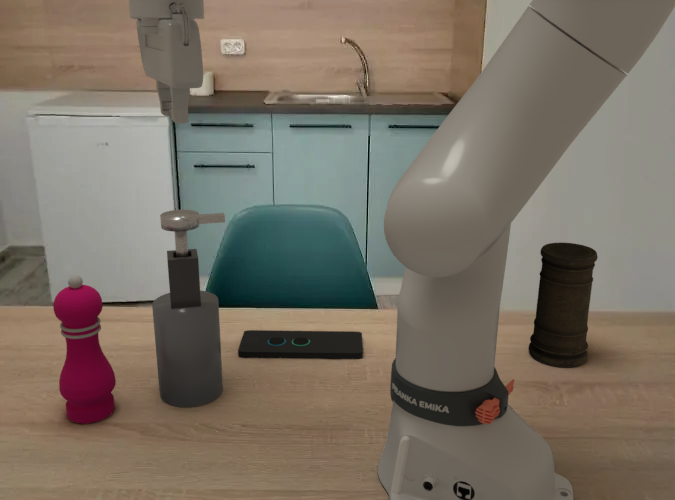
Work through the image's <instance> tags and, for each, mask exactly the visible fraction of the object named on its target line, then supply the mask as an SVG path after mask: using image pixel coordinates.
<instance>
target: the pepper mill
mask: <svg viewBox="0 0 675 500" xmlns="http://www.w3.org/2000/svg"><path fill="white" fill-rule="evenodd" d="M83 282H84V281H83V278H82V277H81V275H78V274H73V275H70V277H69V278H68V281H67V283H68V286H67V287H64V288H62V289H61V290H60V291H58V293H57V294H56V296H55V297H54V300H53V313H54V315H55V317H56V318H57V319H58V320H59V321H60V324H59V327H60V334H61V336H62V337H64V338H65V342H66V344H65V345H66V356H65V361H64V364H63V365H62V369H61V372H60V376H59V382H58V384H59V385H58V387H59V388H58V390H59V394H60V395H61V396H62V398H63V399H64V400H65V401H66V402H65V411H66V417H67V418H68V419H69V421H71V422H73V423H76V424H92V423H97V422H99V421H103V420H105V419H106V418H108V417H109V416H111V415H112V414H113V413H114V411H115V408H116V403H115V398H114V397H115V396H114V395H113V391H114V389H115V387H116V385H117V380H116V375H115V371H114V369H113V367H112V365H111V363H110V361H109V359H107V357H106V356H105V354H104V352H103V349H102V348H101V344H100V339H99V332H100V331H101V330H102V326H101V319H100V317H99V315H100V314H101V313H102V310H103V306H104V305H103V299H102V296H101V294H100V293H99V291H98V290H97V289H95V287H92V286H91V285H88V284H84V283H83Z"/></svg>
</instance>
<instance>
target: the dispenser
mask: <svg viewBox="0 0 675 500" xmlns="http://www.w3.org/2000/svg"><path fill="white" fill-rule="evenodd" d="M166 257H167V270H168V274H167V275H168V282H169V283H168V284H169V292H167V293H164V294H162V295H160V296H158V297H157V298H155V299H154V300H153V302H152V304H151V307H152V309H151V310H152V317H153V318H152V319H153V321H152V322H153V329H154V332H153V333H154V343H155V354H156V365H157V366H156V367H157V377H158V388H159V389H158V390H159V398H160V400H161V401H162V402H163V403H165V404H167V405H168V406H171V407H175V408H183V409H184V408H195V407H196V408H197V407H202V406H205V405H207V404H208V405H209V404H210V403H212V402H214V401H215V400H216V401H217V399H218V398H219V397H220V396H221V395H222V393H223V391H224V386H223V383H224V382H223V367H222V366H223V365H222V363H223V362H222V346H221V345H222V343H221V328H220V326H221V325H220V324H221V323H220V310H219V309H220V307H219V305H220V304H219V298H218V296H217V295H216V294H215V293H213V292H209V291H205V290H201V282H200V269H199V268H200V266H199V263H200V262H199V255H198V250H197V248H188V257H179V258H176V249H175V250H173V249H172V250H167V251H166Z"/></svg>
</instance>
